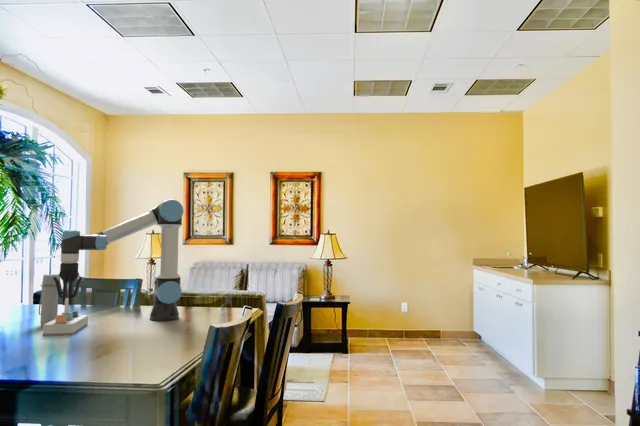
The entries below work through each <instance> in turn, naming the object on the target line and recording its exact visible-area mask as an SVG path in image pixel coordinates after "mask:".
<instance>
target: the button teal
mask: <svg viewBox="0 0 640 426" xmlns="http://www.w3.org/2000/svg"><path fill="white" fill-rule="evenodd" d="M61 315H67V321H72V317H73V312H68V313H64V312H61Z"/></svg>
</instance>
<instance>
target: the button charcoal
mask: <svg viewBox="0 0 640 426" xmlns="http://www.w3.org/2000/svg"><path fill="white" fill-rule="evenodd" d="M70 312H73V317H72V318H77V317H78V315H79V310H70Z"/></svg>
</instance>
